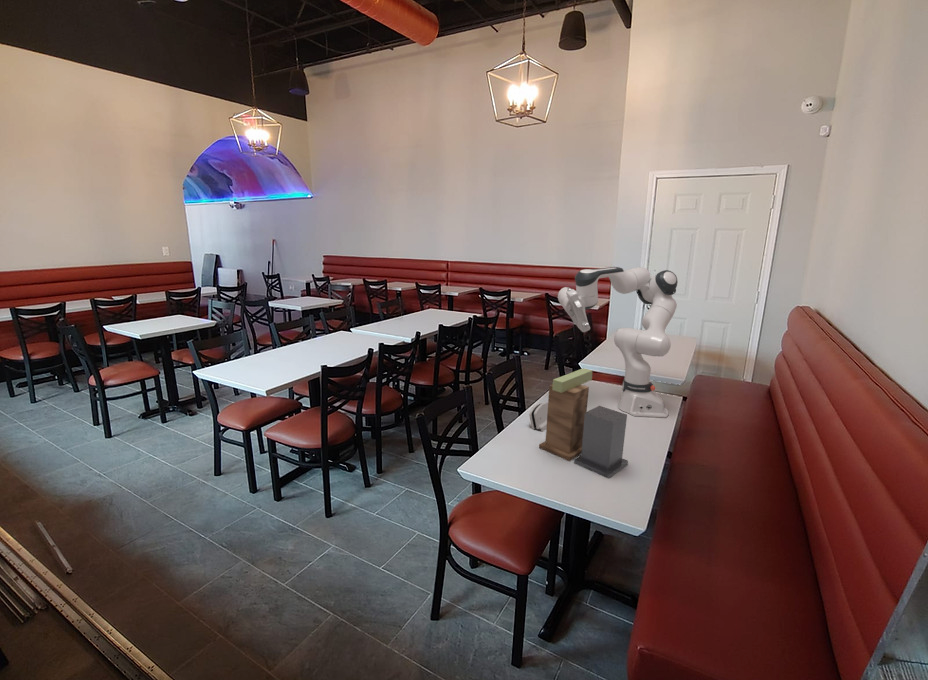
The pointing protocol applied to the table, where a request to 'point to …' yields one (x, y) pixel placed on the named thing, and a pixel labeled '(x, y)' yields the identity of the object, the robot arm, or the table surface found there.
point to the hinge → (539, 416)
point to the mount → (603, 441)
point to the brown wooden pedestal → (566, 422)
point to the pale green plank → (572, 380)
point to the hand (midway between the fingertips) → (583, 317)
